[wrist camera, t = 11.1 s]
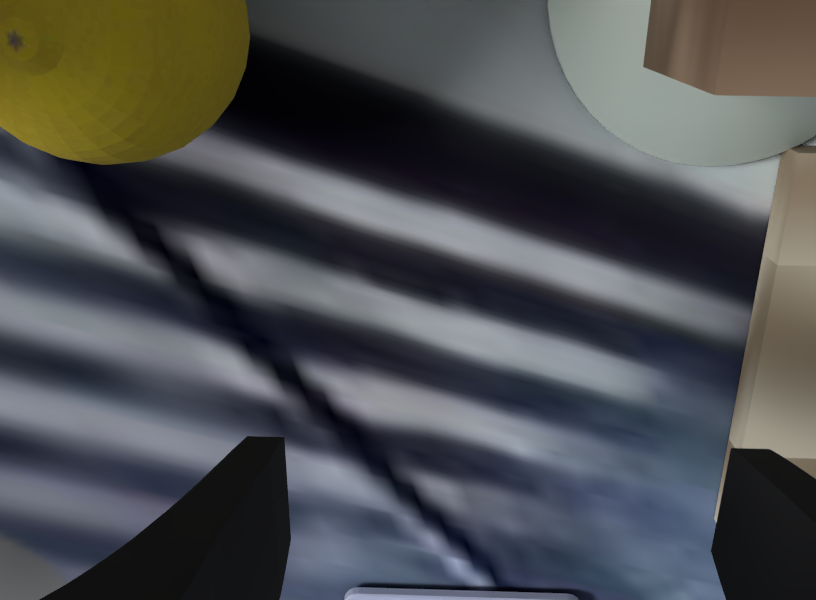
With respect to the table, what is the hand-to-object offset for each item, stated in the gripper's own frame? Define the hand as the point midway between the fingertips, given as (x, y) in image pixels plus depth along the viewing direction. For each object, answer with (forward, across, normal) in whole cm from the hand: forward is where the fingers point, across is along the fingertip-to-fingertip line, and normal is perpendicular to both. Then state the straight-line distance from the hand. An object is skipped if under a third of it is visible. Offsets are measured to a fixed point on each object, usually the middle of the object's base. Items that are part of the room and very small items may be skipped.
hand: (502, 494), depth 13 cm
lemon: (+11, +8, -7) cm, 15 cm away
